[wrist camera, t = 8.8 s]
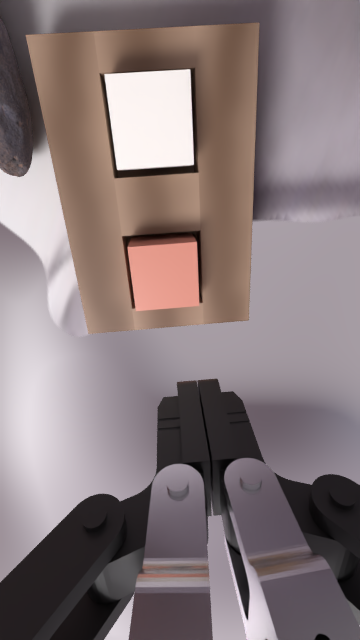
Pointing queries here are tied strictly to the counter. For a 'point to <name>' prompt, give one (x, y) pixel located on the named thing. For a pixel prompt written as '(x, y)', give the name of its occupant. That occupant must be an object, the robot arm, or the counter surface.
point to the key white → (151, 119)
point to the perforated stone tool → (13, 113)
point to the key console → (158, 183)
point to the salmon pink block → (164, 271)
